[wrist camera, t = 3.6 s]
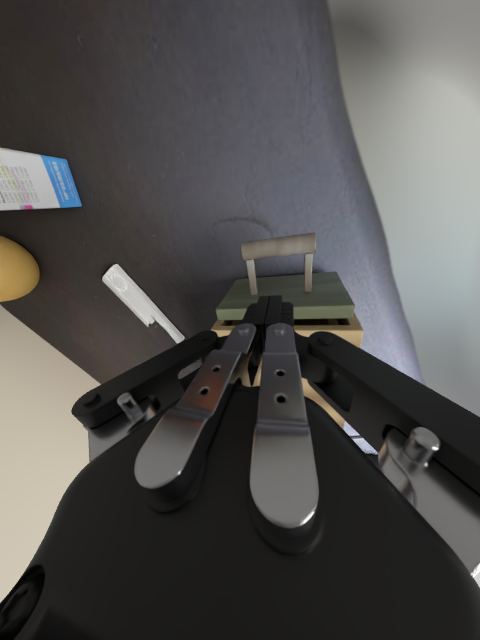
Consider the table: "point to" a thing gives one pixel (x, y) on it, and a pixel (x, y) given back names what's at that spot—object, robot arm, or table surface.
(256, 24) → the table surface
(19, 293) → the stress ball
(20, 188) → the ink box
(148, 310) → the white plastic blade
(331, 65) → the table surface
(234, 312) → the drawer
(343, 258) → the table surface
